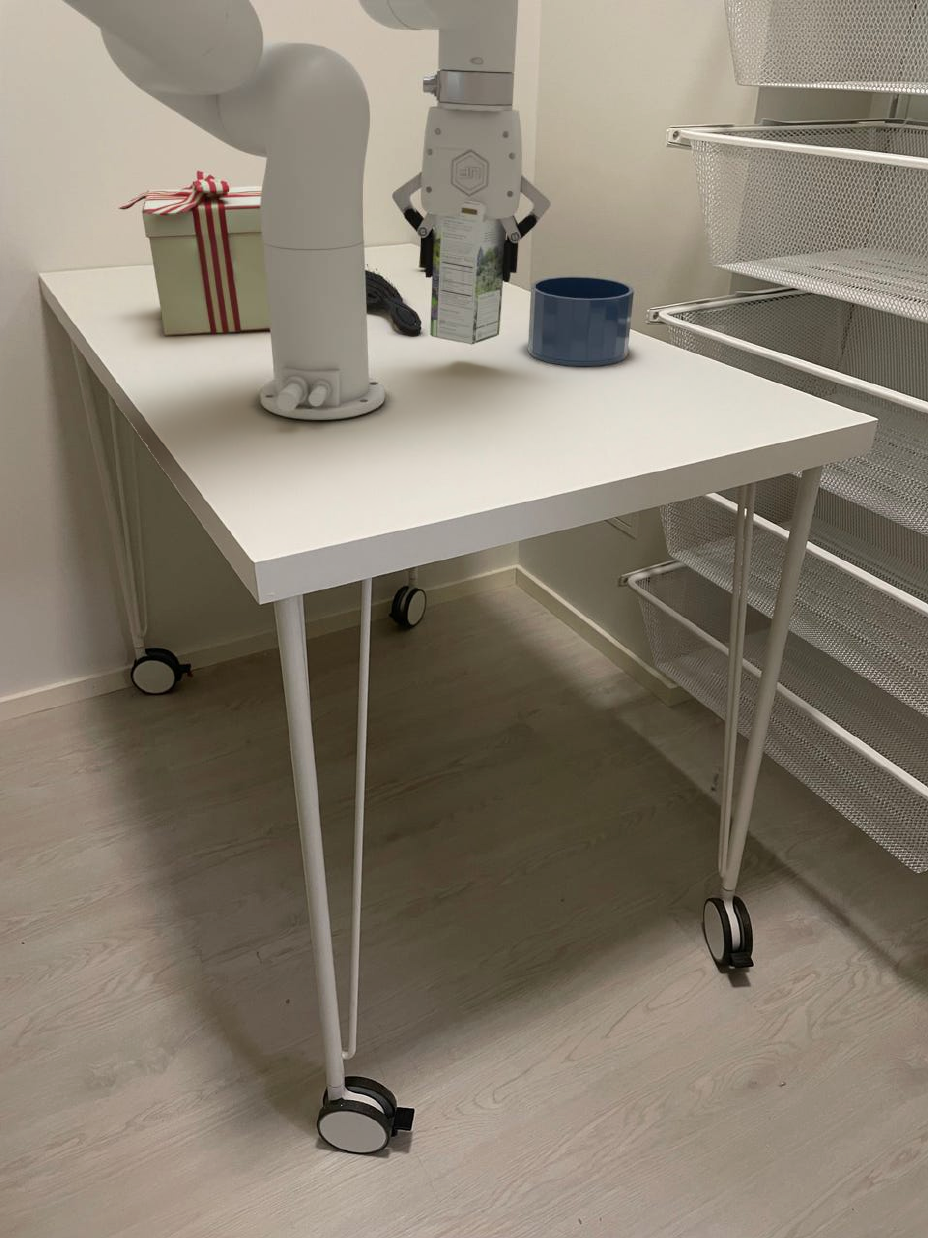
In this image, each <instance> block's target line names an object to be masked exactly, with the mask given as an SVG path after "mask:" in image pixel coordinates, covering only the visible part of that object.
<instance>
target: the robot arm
mask: <svg viewBox="0 0 928 1238" xmlns="http://www.w3.org/2000/svg"><path fill="white" fill-rule="evenodd" d="M62 2H64V3H65V4H66V5H68V6H69V7H71V8H72V9H73V10H75V11H76V12H77V13H79V14H81V15H82V16H83V17H84V18H85V19H87V20H89V21H90V22H91V23H92V24H93V25H95V26H96V27H98V28H99V29H100V30H99V31H100V34H101V39H102V41H103V45H104V46H105V49H106V51H107V53H108V55H109V56H110V58H111V60H112V62H113V63H114V65H115V66H116V67H117V68H118V70H119V71H120V72H121V73H122V74H123V75H124V76H125V77H126V78H127V79H128V80H129V81H130V82H131V83H133V84H134V85H135V86H136V87H137V88H139V89H140V90H141V91H143V92H144V93H146V94H147V95H149V96H151V97H152V98H154V99H155V100H157V101H158V102H160V103H161V104H162V105H164V106H166V107H167V108H169V109H170V110H172V111H174V112H175V113H176V114H178V115H179V116H181V117H183V118H184V119H186V120H187V121H189V122H191V123H193V125H195V126H197V127H199V128H200V129H201V130H204V131H205V132H207V133H208V134H210V135H212V136H213V137H214V138H216V139H218V140H220V141H221V142H223V143H225V144H226V145H228V146H229V147H232V148H233V149H235V150H238V151H240V152H243V153H245V154H249V155H251V156H255V157H261V158H266V160H265V169H264V175H263V180H262V185H261V186H262V191H261V202H260V221H261V234H262V242H263V253H264V264H265V276H266V287H267V299H268V310H269V322H270V329H269V332H270V333H269V334H270V343H271V345H270V346H271V354H272V355H271V356H272V366H273V376H274V380H273V379H272V380H271V381H269V382H268V383H266V384H265V385H264V386H263V387H262V388H261V389H260V392H259V397H260V404H261V405H262V407H263V408H264V409H266V410H267V411H268V412H270V413H273V414H275V415H277V416H281V417H285V418H290V419H296V420H304V421H305V420H306V421H310V420H311V421H328V420H340V419H341V420H342V419H347V418H352V417H357V416H360V415H364V414H367V413H369V412H372V411H374V410H376V409H377V408H380V406H381V405H383V403H384V402H385V400H386V399H385V398H386V397H385V394H386V393H385V387H384V386H383V384H382V383H380V382H379V381H378V380H376V379H374V378H372V377H370V370H369V368H370V367H369V343H368V342H369V341H368V315H367V314H368V312H367V311H368V309H367V310H366V282H365V270H366V259H365V257H366V255H365V239H364V238H365V237H364V177H365V176H364V175H365V165H366V158H367V157H366V156H367V152H368V151H367V150H368V143H369V135H370V129H371V128H370V125H371V109H370V108H371V107H370V102H369V95H368V92H367V89H366V86H365V83H364V81H363V79H362V77H361V75H360V73H359V72H358V70H356V68H355V67H354V66H353V64H352V63H351V62H350V61H349V60H348V59H347V58H345V57H344V56H343V55H341V54H340V53H338V52H337V51H335V50H332V49H331V48H328V47H326V46H323V45H319V44H314V43H307V42H285V41H284V42H283V41H280V42H269V41H268V42H267V41H264V33H263V28H262V24H261V21H260V18H259V16H258V14H257V11H256V9H255V7H254V5H253V4H252V3H251V1H250V0H62ZM358 2H359V4H360V6H361V8H362V10H363V11H364V12H365V13H366V14H367V15H368V17H370V19H372V20H373V21H374V22H376V23H377V24H379V25H381V26H383V27H386V28H387V29H393V30H402V31H423V30H425V31H426V30H428V31H438V55H437V69H438V70H437V71H436V73H435V74H434V75H431V76H430V77H428V76H427V77H425V76H424V77H423V80H422V90H423V93H427V94H429V93H430V95H433V97H435V98H436V102H437V103H436V104H437V105H435V106H429V108H428V111H427V112H428V113H427V117H426V122H425V130H424V139H423V140H424V141H423V149H422V160H421V161H422V163H421V171H420V172H419V173H417V174H416V175H415V176H413V177H412V178H411V179H409V180H408V181H407V182H405V183H404V184H403V185H402V186H400V187H398V188H397V189H396V190H395V191H394V192H393V193H392V195H391V197H392V200H393V201H394V203H395V205H396V206H397V208H398V209H399V211H400V212H401V213H402V215H403V217H404V219H405V220H406V221H407V222H408V224H409V225H410V226H411V227H412V228H413V229H414V231H415V232H416V233H417V235H418V237H420V246H421V248H420V247H419V259H420V267H421V269H425V268H426V269H425V278H427V279H428V278H431V279H432V276H433V245H434V224H435V222H436V215H438V216H451V217H455V216H458V215H460V214H461V211H462V206H463V204H464V203H466V202H465V201H463V200H467V201H474V202H480V203H483V204H484V205H486V217H487V218H488V219H500V221H501V223H502V225H503V227H504V229H505V231H506V240H505V243H504V256H503V274H502V281H503V283H509V282H510V280H511V274H517V272H518V259H519V258H518V257H519V244H520V243H519V242H520V241H521V240H522V239H523V238H524V237H525V236H526V235H527V234H529V232H530V231H532V229H534V228H535V226H536V225H537V224H538V223H539V221H540V220H541V219H542V218H543V216H545V214H546V212H547V211H548V210H549V208H550V207H551V199H550V198H549V197H548V196H546V194H544V192H542V191H541V190H540V189H539V188H538V187H536V186H535V185H534V184H533V183H532V182H531V181H530V180H529V179H527V178H526V177H525V176H524V175H523V174H522V171H523V170H522V168H523V166H522V165H523V156H522V155H523V153H522V152H523V146H522V145H523V144H522V126H521V125H522V124H521V116H520V111H519V110H518V109H513V106H514V105H513V104H514V87H515V71H516V69H515V68H516V67H515V66H516V54H517V53H516V52H517V51H516V50H517V32H518V31H517V30H518V14H519V0H358ZM418 190H420V203H421V208H422V209H423V211H425V212H426V214H425V216H424V217H423V215H422V214H421V213H420V212H419V210H418V209H416V207H415V206H414V205H413V203H412V200H411V196H412V195H413V194H415V193H416V192H417V191H418ZM521 194H522V195H523V196H525V197H526V198H527V199H528V200H529V201H530V202H531V203H532V205H533V206H532V208H531V210H530V211H529V213H528V214H527V215H526V216H524V217H523V219H522V220H520V221H518V220H517V218H516V216H515V215H516V213H517V212H518V210H519V206H520V201H521ZM420 267H419V268H420Z"/></svg>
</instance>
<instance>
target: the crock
mask: <svg viewBox="0 0 928 1238" xmlns="http://www.w3.org/2000/svg"><path fill="white" fill-rule="evenodd" d="M634 294H635V290H634V287H633V286H631V285H630V284H628V283H625V282H622V281H619V280H614V279H610V278H603V277H596V276H595V277H593V276H578V275H577V276H576V275H575V276H573V275H572V276H571V275H570V276H555V277H547V278H543V279H539V280H536V281H534V282H533V283H531V286H530V298H529V300H530V301H529V321H528V322H529V323H528V340H527V341H528V342H527V348H528V349H527V351H528V354H529V355H530V356H532V357H533V358H535V359H538V360H540V361H543V362H546V363H549V364H554V365H560V366H568V367H569V366H570V367H601V366H607V365H613V364H617V363H619V362H621V361H623V360H625V359H626V358H627V356H628V351H629V342H630V333H631V324H632V314H633V306H634V305H633V304H634V296H635V295H634Z"/></svg>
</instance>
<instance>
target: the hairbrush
mask: <svg viewBox="0 0 928 1238" xmlns="http://www.w3.org/2000/svg"><path fill="white" fill-rule="evenodd" d="M366 266H367V268H368V270H367V269H365V282H366V310H367V311H368V310H379V309H380V310H382V309H386V310H387V311H388V312H389V315H390V319H391V321H392V323H393V324H394V325H395V327H397V329H398V330H399V331H400V332H401V333H403V334H405V335H407V336H410V337H415V336H419V335H420V333H421V331H422V320H421V318H420V316H419V315H418V312H417V311H415V310H414V309H412V308H411V306H409V305H407V304H406V303H405V302H404V299H403V297H402V295H401V293H400V292H399V290H398V289H397V288H396V286H395V285H394V284H393V283H392V282H390V280H388V278H387V277H386V278H384V276H383V275H381V274H380V273H379V271H377V270H378V269H377V268H375V271H377V273H376V272H375V271H374V270H372V271H371V270H370V269H371V268H369V264H368V263H367V264H366Z"/></svg>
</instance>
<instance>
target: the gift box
mask: <svg viewBox="0 0 928 1238" xmlns="http://www.w3.org/2000/svg"><path fill="white" fill-rule="evenodd" d="M196 179H197V180H194V181H192V184H190V185H189V186H187V187H184V188H171V189H148V190H147V191H146V192H143V193H141V194H139V195H138V196H135V197H133V198H132V199H131V200H129V201H127V202H126V203H125V204H124V205H122V206H120V207H118V209H119V210H128V209H131V208H132V207H133V206H134V205H136V203H138V202H140V201H142V200H144V202H143V206H142V211H141V214H142V221H143V227H144V228H143V229H144V233H145V234H144V235H145V238H147V239H148V240H149V245H150V252H151V258H152V264H153V270H154V276H155V277H154V278H155V284H156V288H157V294H158V301H159V306H160V313H161V320H162V326H163V333H164V336H165V337H169V336H170V337H171V336H184V335H185V336H187V335H199V334H200V335H202V334H219V333H233V332H235V333H236V332H237V333H238V332H246V331H265V330H266V331H267V330H270V322H269V310H268V299H267V287H266V276H265V264H264V253H263V242H262V234H261V221H260V202H261V191H262V185H249V186H248V185H246V186H230V185H229V184H228V182H227V181H225V180H222V179H219V178H217V177H215V176H213V175H212V174H210V173H207V172H204V171H200V170H197V171H196Z"/></svg>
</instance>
